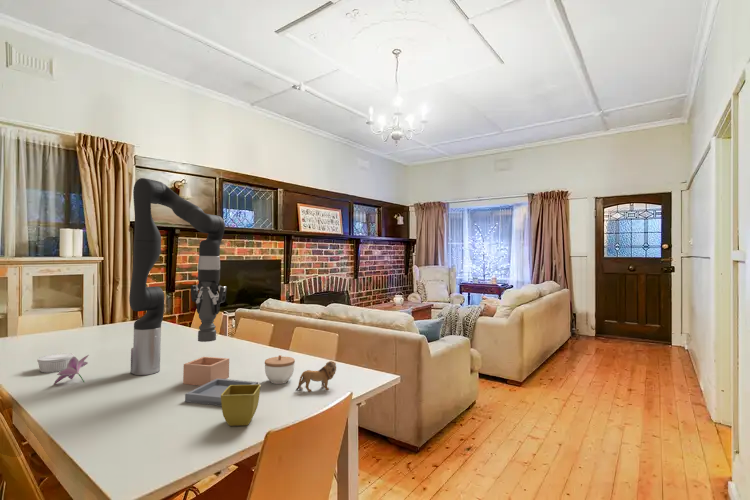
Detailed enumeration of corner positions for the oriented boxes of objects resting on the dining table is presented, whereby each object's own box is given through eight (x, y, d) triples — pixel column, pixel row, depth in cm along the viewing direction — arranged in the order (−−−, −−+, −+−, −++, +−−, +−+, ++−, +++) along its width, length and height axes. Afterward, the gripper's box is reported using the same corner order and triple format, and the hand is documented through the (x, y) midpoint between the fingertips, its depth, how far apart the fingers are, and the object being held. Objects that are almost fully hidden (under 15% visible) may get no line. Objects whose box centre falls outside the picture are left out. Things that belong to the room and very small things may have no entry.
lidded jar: (300, 379, 144) (300, 354, 144) (281, 387, 134) (282, 360, 134) (277, 375, 148) (277, 350, 148) (257, 383, 138) (258, 357, 138)
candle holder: (209, 342, 138) (211, 272, 138) (194, 341, 139) (195, 272, 139) (219, 338, 144) (221, 271, 144) (204, 337, 145) (206, 271, 145)
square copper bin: (183, 383, 137) (183, 364, 137) (203, 374, 147) (203, 356, 147) (210, 386, 134) (210, 366, 134) (228, 377, 145) (229, 358, 145)
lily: (94, 377, 146) (81, 355, 145) (105, 370, 139) (91, 348, 139) (57, 397, 136) (43, 373, 135) (67, 390, 129) (53, 365, 129)
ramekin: (41, 375, 144) (41, 361, 145) (33, 370, 151) (33, 356, 151) (77, 369, 153) (77, 355, 153) (68, 364, 160) (69, 351, 160)
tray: (184, 401, 120) (185, 393, 120) (216, 385, 135) (216, 378, 135) (230, 406, 116) (230, 398, 116) (258, 389, 132) (258, 382, 132)
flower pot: (229, 416, 109) (229, 384, 110) (260, 415, 110) (261, 383, 110) (219, 429, 101) (220, 395, 101) (253, 429, 101) (254, 394, 102)
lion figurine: (332, 383, 139) (333, 358, 139) (338, 388, 134) (339, 362, 134) (293, 390, 132) (293, 363, 132) (297, 395, 127) (298, 367, 127)
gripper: (185, 268, 140) (183, 314, 139) (220, 269, 136) (219, 316, 136) (198, 267, 147) (197, 311, 147) (232, 268, 144) (231, 313, 143)
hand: (208, 313), depth 141 cm, fingers closed on candle holder, 6 cm apart
